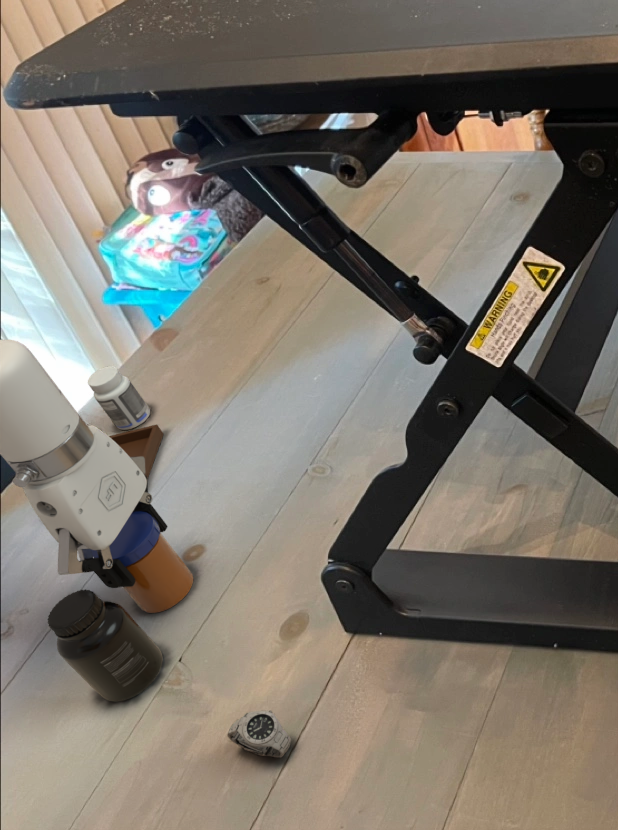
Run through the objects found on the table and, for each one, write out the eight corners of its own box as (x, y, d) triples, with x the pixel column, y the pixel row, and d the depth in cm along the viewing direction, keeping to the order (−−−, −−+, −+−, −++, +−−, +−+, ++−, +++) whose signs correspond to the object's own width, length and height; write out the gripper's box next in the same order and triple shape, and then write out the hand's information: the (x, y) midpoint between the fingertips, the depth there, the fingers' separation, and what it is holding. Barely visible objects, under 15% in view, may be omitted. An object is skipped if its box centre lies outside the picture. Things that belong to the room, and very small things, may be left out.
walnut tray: (56, 519, 136) (47, 509, 134) (84, 453, 145) (77, 443, 144) (141, 498, 136) (133, 488, 135) (163, 433, 145) (157, 424, 144)
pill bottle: (146, 402, 152) (115, 358, 147) (155, 417, 149) (124, 373, 143) (112, 420, 150) (80, 377, 145) (121, 436, 147) (88, 392, 141)
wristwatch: (284, 768, 102) (261, 741, 99) (232, 757, 104) (208, 731, 101) (304, 734, 105) (282, 707, 101) (253, 724, 106) (230, 697, 103)
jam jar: (133, 619, 120) (89, 568, 114) (145, 576, 125) (104, 525, 119) (187, 604, 120) (146, 552, 115) (198, 562, 125) (158, 510, 120)
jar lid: (169, 516, 120) (162, 507, 119) (145, 565, 115) (138, 555, 114) (113, 524, 120) (106, 515, 119) (87, 573, 115) (79, 564, 114)
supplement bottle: (166, 637, 117) (109, 570, 110) (163, 687, 112) (104, 620, 105) (102, 663, 116) (41, 597, 109) (97, 714, 111) (31, 649, 103)
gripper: (36, 511, 101) (131, 622, 112) (126, 385, 114) (203, 495, 125) (-33, 516, 102) (68, 625, 113) (64, 391, 115) (146, 499, 126)
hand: (138, 556), depth 119 cm, fingers closed on jar lid, 6 cm apart
